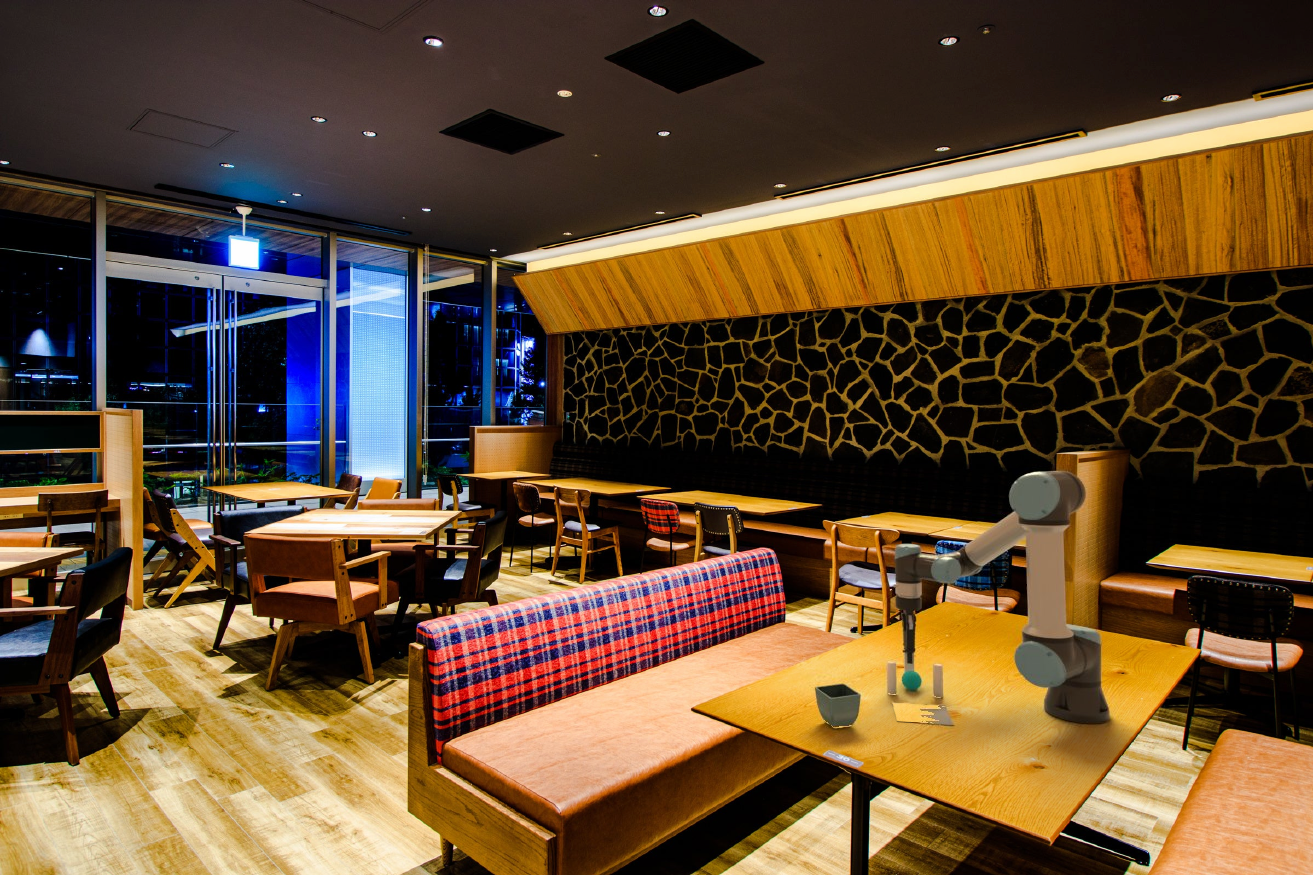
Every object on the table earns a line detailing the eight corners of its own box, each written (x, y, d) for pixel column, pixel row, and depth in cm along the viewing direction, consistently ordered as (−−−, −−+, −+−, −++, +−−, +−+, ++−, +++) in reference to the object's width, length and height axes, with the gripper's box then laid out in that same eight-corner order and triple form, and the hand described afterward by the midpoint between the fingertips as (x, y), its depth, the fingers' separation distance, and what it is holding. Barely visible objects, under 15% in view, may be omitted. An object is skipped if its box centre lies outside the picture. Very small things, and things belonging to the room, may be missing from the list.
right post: (943, 698, 204) (943, 666, 204) (934, 697, 205) (933, 666, 205) (942, 695, 206) (941, 663, 206) (932, 694, 207) (932, 663, 207)
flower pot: (831, 733, 181) (830, 698, 181) (814, 720, 189) (813, 686, 189) (862, 729, 183) (861, 694, 183) (844, 716, 192) (843, 682, 192)
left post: (897, 695, 207) (896, 664, 207) (887, 694, 207) (887, 663, 207) (896, 692, 209) (895, 661, 209) (886, 691, 210) (886, 660, 210)
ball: (921, 667, 211) (920, 677, 214) (901, 665, 212) (900, 675, 216) (922, 685, 207) (921, 694, 211) (902, 683, 208) (901, 692, 212)
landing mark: (954, 725, 185) (954, 724, 185) (896, 721, 188) (896, 720, 188) (944, 705, 199) (944, 705, 199) (891, 702, 202) (891, 701, 202)
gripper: (893, 590, 227) (894, 665, 227) (897, 599, 214) (898, 679, 214) (918, 591, 225) (919, 666, 225) (924, 600, 212) (925, 680, 212)
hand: (909, 672), depth 220 cm, fingers closed
